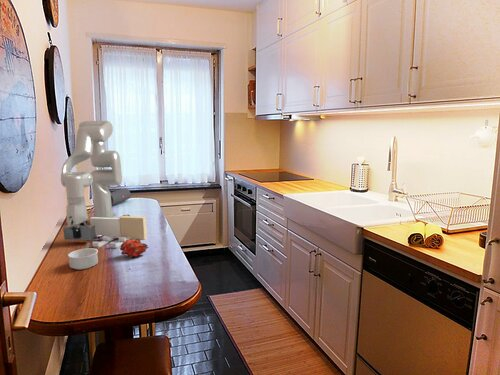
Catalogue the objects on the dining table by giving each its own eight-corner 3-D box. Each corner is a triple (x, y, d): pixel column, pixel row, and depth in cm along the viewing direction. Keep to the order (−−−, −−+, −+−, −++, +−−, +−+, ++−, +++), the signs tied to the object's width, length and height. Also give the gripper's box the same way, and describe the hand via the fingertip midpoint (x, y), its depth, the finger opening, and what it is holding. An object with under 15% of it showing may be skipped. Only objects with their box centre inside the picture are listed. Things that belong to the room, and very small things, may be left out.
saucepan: (103, 253, 168) (102, 241, 167) (97, 269, 149) (96, 256, 148) (75, 255, 165) (74, 243, 164) (66, 272, 146) (64, 259, 145)
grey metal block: (69, 236, 185) (67, 225, 184) (95, 237, 184) (94, 225, 182) (64, 239, 181) (63, 227, 180) (91, 239, 180) (90, 227, 179)
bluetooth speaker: (114, 207, 261) (113, 193, 259) (103, 207, 263) (101, 193, 261) (132, 201, 283) (131, 188, 281) (121, 200, 285) (120, 187, 283)
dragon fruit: (118, 260, 162) (147, 261, 165) (117, 254, 155) (147, 256, 158) (121, 241, 166) (148, 243, 169) (120, 235, 159) (149, 236, 162)
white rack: (94, 235, 195) (92, 215, 193) (147, 237, 189) (145, 216, 187) (72, 246, 178) (69, 223, 176) (129, 249, 172) (127, 226, 170)
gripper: (80, 196, 188) (84, 231, 191) (56, 204, 171) (61, 242, 175) (93, 196, 186) (97, 231, 190) (71, 204, 170) (75, 242, 173)
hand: (80, 236), depth 182 cm, fingers closed on grey metal block, 4 cm apart
